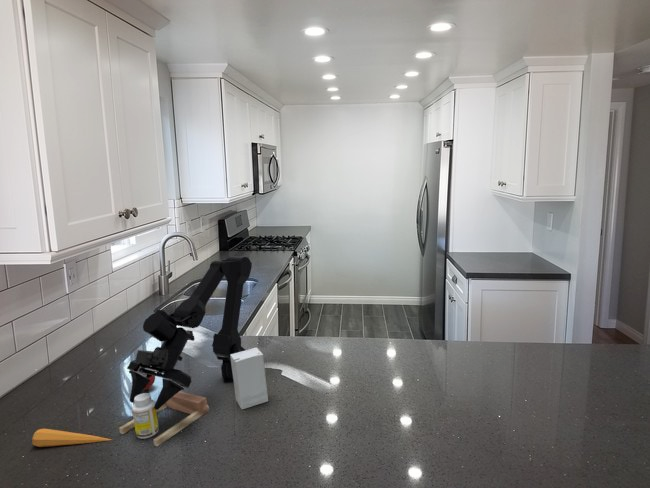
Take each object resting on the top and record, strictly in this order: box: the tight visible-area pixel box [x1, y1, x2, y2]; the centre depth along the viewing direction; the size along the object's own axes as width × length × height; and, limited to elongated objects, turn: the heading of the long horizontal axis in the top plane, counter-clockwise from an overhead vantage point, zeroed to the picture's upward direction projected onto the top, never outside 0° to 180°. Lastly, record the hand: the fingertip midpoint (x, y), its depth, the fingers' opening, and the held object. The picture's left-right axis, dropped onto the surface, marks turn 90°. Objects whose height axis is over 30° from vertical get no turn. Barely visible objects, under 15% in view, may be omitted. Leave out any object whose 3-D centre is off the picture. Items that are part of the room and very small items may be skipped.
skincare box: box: [230, 347, 269, 410], centre depth 129 cm, size 8×6×15 cm
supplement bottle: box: [131, 392, 160, 440], centre depth 117 cm, size 6×6×10 cm
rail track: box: [118, 390, 210, 447], centre depth 123 cm, size 18×14×4 cm
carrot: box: [31, 428, 113, 448], centre depth 116 cm, size 20×4×4 cm, turn 91°
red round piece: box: [143, 375, 156, 391], centre depth 142 cm, size 6×6×8 cm
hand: (143, 405), depth 116 cm, fingers open, 9 cm apart
